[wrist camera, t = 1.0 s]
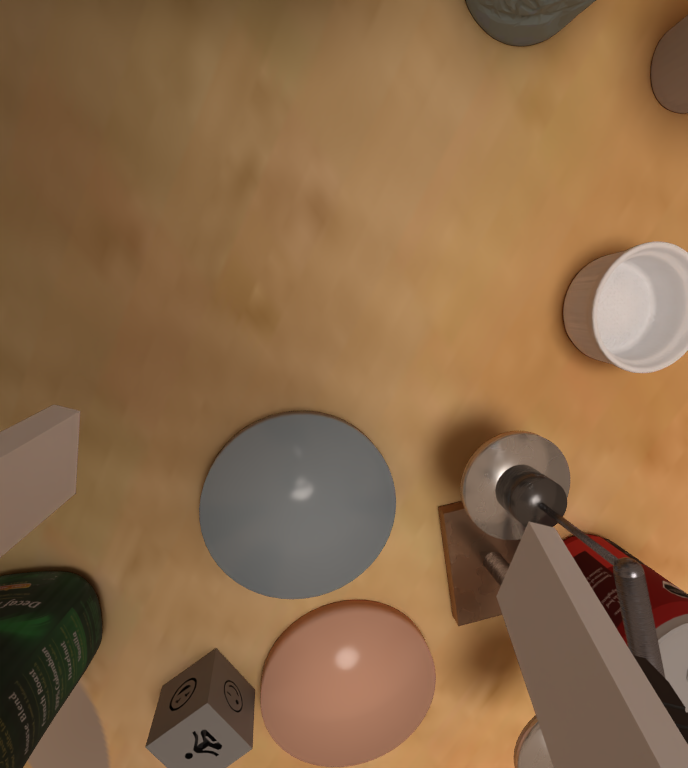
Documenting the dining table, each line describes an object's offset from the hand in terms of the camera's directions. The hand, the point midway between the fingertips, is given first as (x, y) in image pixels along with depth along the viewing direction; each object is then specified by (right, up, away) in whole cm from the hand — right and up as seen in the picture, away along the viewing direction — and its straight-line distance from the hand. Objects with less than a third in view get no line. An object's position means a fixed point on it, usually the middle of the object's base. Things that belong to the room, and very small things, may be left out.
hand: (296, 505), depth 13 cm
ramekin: (+22, +9, +22) cm, 32 cm away
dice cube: (-9, -20, +23) cm, 32 cm away
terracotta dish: (+2, -21, +24) cm, 32 cm away
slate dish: (-2, -5, +21) cm, 22 cm away
